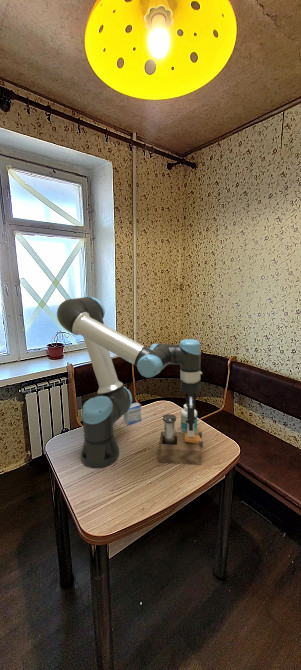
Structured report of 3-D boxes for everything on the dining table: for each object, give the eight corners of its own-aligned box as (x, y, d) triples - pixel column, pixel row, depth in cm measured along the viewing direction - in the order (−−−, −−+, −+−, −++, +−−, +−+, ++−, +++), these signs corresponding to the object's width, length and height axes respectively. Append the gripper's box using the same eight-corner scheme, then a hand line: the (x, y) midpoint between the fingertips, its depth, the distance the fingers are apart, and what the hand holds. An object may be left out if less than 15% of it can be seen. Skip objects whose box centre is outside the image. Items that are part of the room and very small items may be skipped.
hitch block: (158, 462, 105) (158, 444, 104) (161, 444, 117) (161, 427, 115) (202, 465, 103) (203, 446, 101) (201, 446, 115) (201, 429, 113)
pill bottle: (196, 428, 128) (196, 402, 126) (197, 437, 121) (198, 409, 118) (180, 428, 129) (180, 401, 126) (180, 436, 122) (180, 409, 119)
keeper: (199, 438, 110) (199, 435, 109) (200, 443, 106) (200, 441, 106) (184, 435, 110) (185, 433, 110) (184, 441, 106) (185, 438, 106)
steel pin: (163, 457, 108) (162, 420, 105) (163, 449, 113) (163, 413, 110) (176, 457, 108) (175, 421, 104) (176, 449, 113) (176, 414, 109)
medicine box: (127, 425, 132) (127, 409, 131) (123, 421, 136) (122, 405, 134) (141, 420, 137) (141, 404, 135) (137, 417, 140) (136, 401, 138)
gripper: (201, 386, 96) (201, 446, 101) (199, 374, 109) (199, 427, 114) (180, 386, 97) (181, 445, 102) (180, 374, 110) (181, 427, 114)
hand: (190, 436), depth 108 cm, fingers closed
